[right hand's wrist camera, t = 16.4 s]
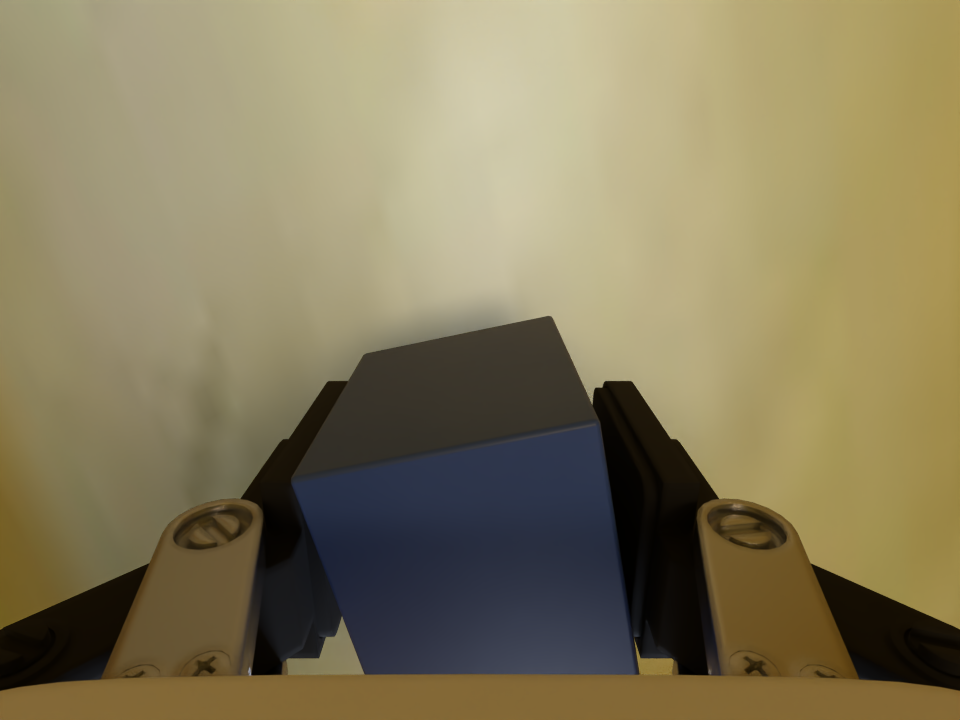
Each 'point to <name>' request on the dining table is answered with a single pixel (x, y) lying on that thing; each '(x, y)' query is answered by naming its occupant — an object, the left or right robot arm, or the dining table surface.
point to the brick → (470, 511)
